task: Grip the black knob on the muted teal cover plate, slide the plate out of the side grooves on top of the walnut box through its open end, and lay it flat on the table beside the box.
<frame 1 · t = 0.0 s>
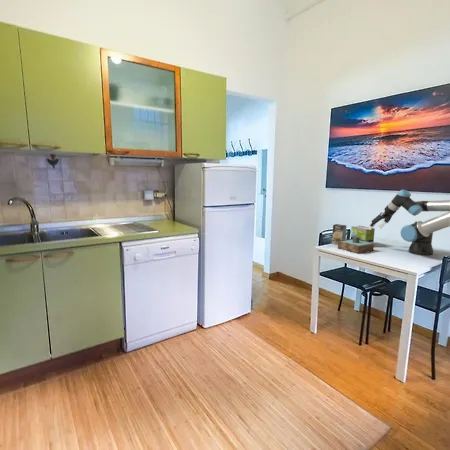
hand: (374, 228, 224), 15 cm above the table, tool tilted 35°, fingers open, 13 cm apart
walnut box: (355, 249, 218), on the table
tea box: (361, 244, 236), on the table
cover plate: (355, 243, 217), point 5 cm above the table, touching walnut box
coffee box: (338, 243, 238), on the table
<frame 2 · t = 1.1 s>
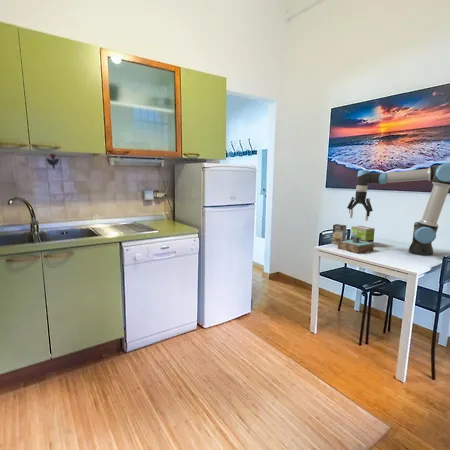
hand: (358, 219, 215), 24 cm above the table, tool pointing down, fingers open, 13 cm apart
nothing on the table moved.
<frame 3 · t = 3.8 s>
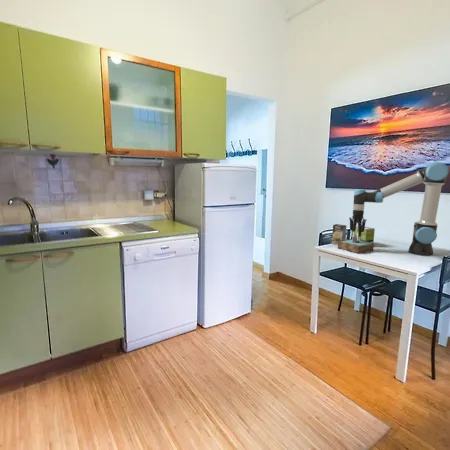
hand: (356, 240, 217), 8 cm above the table, tool pointing down, fingers closed on cover plate, 3 cm apart
cover plate: (355, 243, 217), point 5 cm above the table, touching gripper, walnut box
everything else where it was.
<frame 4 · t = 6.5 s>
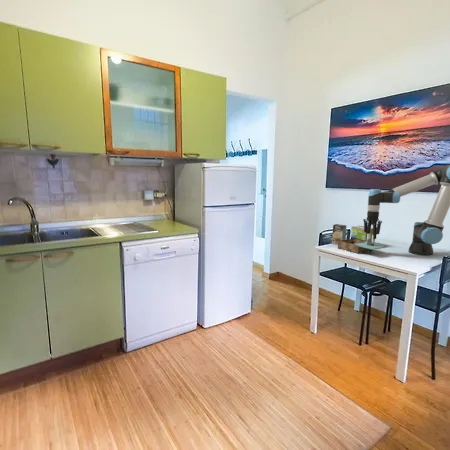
hand: (370, 242, 206), 8 cm above the table, tool pointing down, fingers closed on cover plate, 3 cm apart
cover plate: (370, 246, 207), point 5 cm above the table, touching gripper
everything else where it was.
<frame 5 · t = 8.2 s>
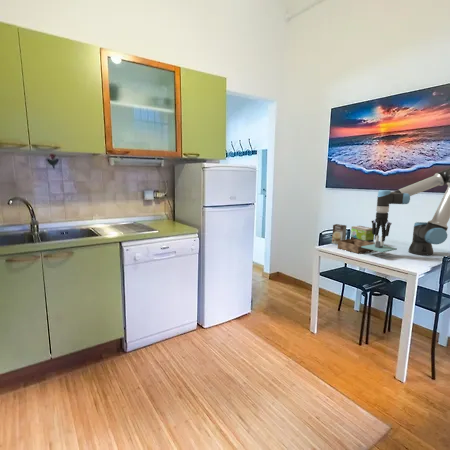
hand: (379, 245, 200), 8 cm above the table, tool pointing down, fingers closed on cover plate, 3 cm apart
cover plate: (378, 248, 201), point 5 cm above the table, touching gripper
everything else where it was.
when the fingers open (4 cm above the table, at t = 9.4 s): cover plate drops 2 cm, on the table.
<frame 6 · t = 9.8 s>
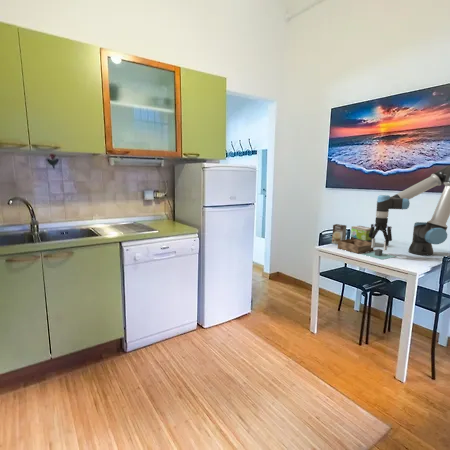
hand: (378, 248, 201), 5 cm above the table, tool pointing down, fingers open, 8 cm apart
cover plate: (378, 256, 202), on the table
everything else where it was.
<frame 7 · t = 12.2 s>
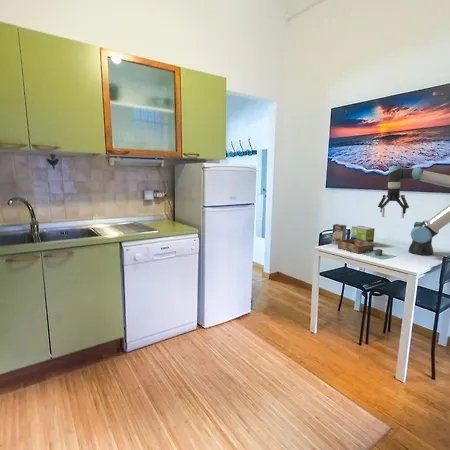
hand: (392, 217, 205), 26 cm above the table, tool pointing down, fingers open, 13 cm apart
nothing on the table moved.
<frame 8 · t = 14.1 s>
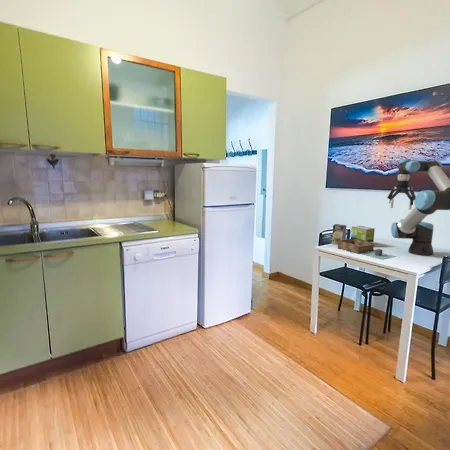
hand: (400, 208, 214), 32 cm above the table, tool pointing down, fingers open, 13 cm apart
nothing on the table moved.
at the end: cover plate inside the target area (0.2 cm from its centre), on the table; cover plate tilted 0°; cover plate touching table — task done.
